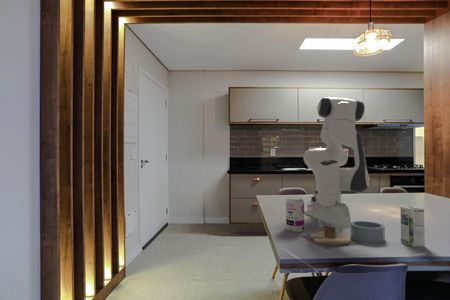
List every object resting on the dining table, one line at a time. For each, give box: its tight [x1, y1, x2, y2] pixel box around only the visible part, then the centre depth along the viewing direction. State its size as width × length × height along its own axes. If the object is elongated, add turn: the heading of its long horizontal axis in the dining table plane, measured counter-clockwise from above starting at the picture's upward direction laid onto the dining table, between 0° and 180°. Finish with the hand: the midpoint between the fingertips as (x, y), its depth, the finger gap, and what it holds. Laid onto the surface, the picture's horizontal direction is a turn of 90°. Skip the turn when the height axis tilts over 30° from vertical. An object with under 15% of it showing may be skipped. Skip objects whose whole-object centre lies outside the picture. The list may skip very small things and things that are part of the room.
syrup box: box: [400, 205, 426, 248], centre depth 105 cm, size 6×6×14 cm
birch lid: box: [310, 225, 351, 246], centre depth 111 cm, size 15×15×5 cm
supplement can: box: [285, 196, 306, 233], centre depth 127 cm, size 8×8×15 cm
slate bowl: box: [350, 220, 386, 244], centre depth 113 cm, size 12×12×6 cm
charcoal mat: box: [300, 234, 363, 250], centre depth 111 cm, size 17×17×1 cm
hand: (330, 233), depth 111 cm, fingers open, 8 cm apart
